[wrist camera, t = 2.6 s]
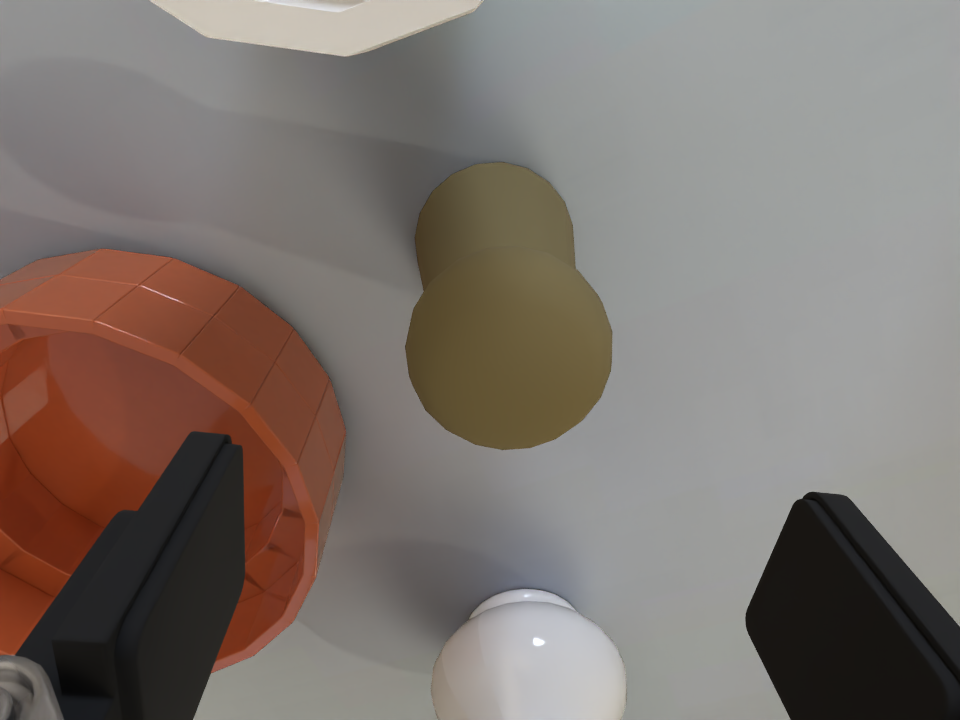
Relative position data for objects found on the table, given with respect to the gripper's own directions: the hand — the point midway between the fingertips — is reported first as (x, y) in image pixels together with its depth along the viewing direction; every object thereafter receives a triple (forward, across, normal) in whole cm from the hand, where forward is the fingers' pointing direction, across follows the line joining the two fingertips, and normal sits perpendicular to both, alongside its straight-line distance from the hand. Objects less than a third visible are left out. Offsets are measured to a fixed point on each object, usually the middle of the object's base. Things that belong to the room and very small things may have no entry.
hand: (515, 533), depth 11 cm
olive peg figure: (+16, 0, 0) cm, 16 cm away
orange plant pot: (+16, +13, +9) cm, 22 cm away
